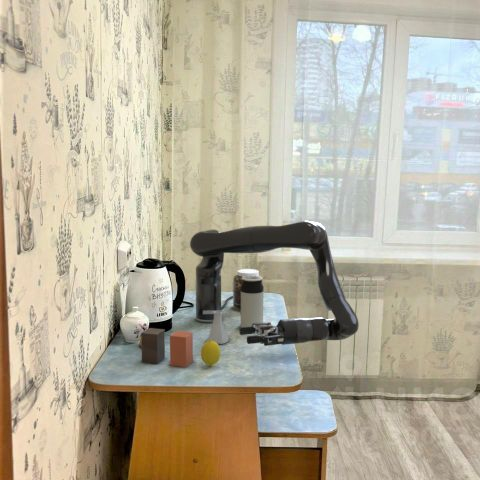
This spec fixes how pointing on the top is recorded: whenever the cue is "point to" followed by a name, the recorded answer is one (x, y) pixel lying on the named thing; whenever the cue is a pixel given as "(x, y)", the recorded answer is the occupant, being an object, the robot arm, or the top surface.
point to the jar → (237, 286)
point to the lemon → (210, 353)
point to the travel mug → (251, 300)
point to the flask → (218, 329)
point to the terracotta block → (181, 348)
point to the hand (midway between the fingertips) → (243, 335)
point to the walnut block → (153, 345)
